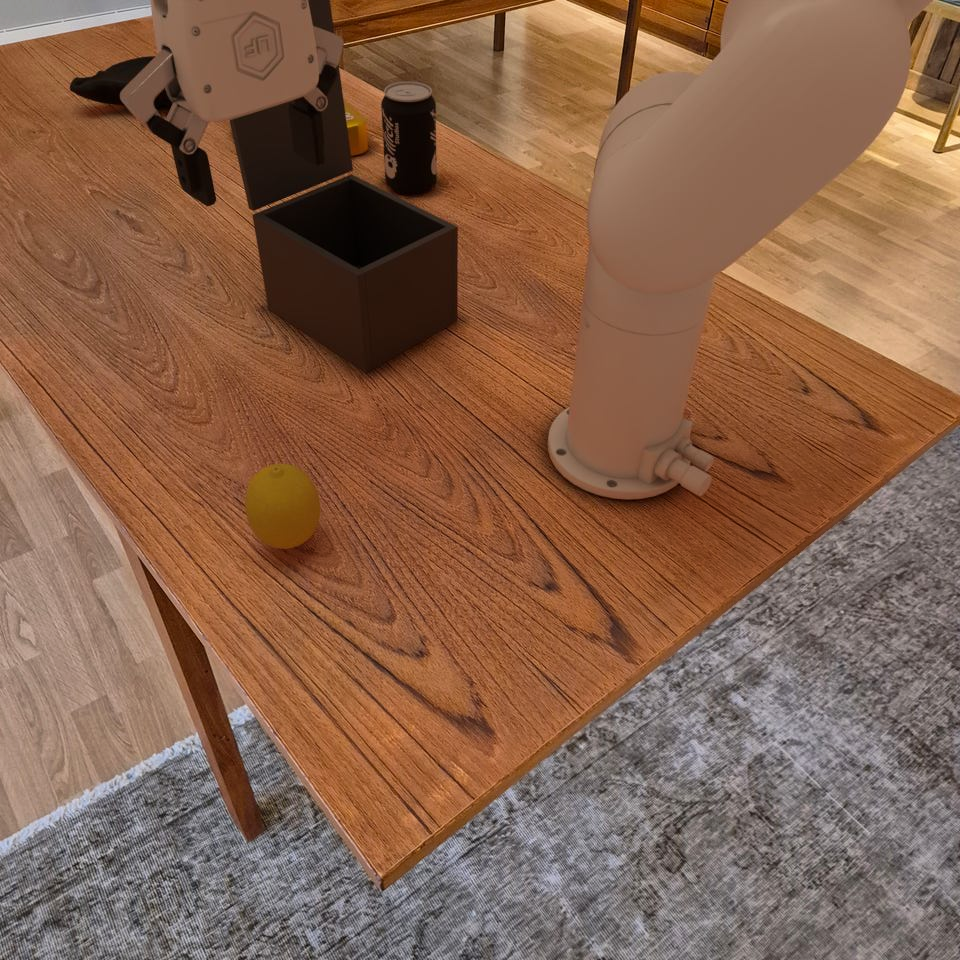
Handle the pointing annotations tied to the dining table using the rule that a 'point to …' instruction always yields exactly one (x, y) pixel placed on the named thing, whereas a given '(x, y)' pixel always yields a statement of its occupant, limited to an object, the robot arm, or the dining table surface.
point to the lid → (270, 146)
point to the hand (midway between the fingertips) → (257, 178)
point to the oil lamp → (114, 83)
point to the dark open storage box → (359, 269)
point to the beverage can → (409, 137)
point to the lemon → (282, 506)
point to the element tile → (356, 130)
